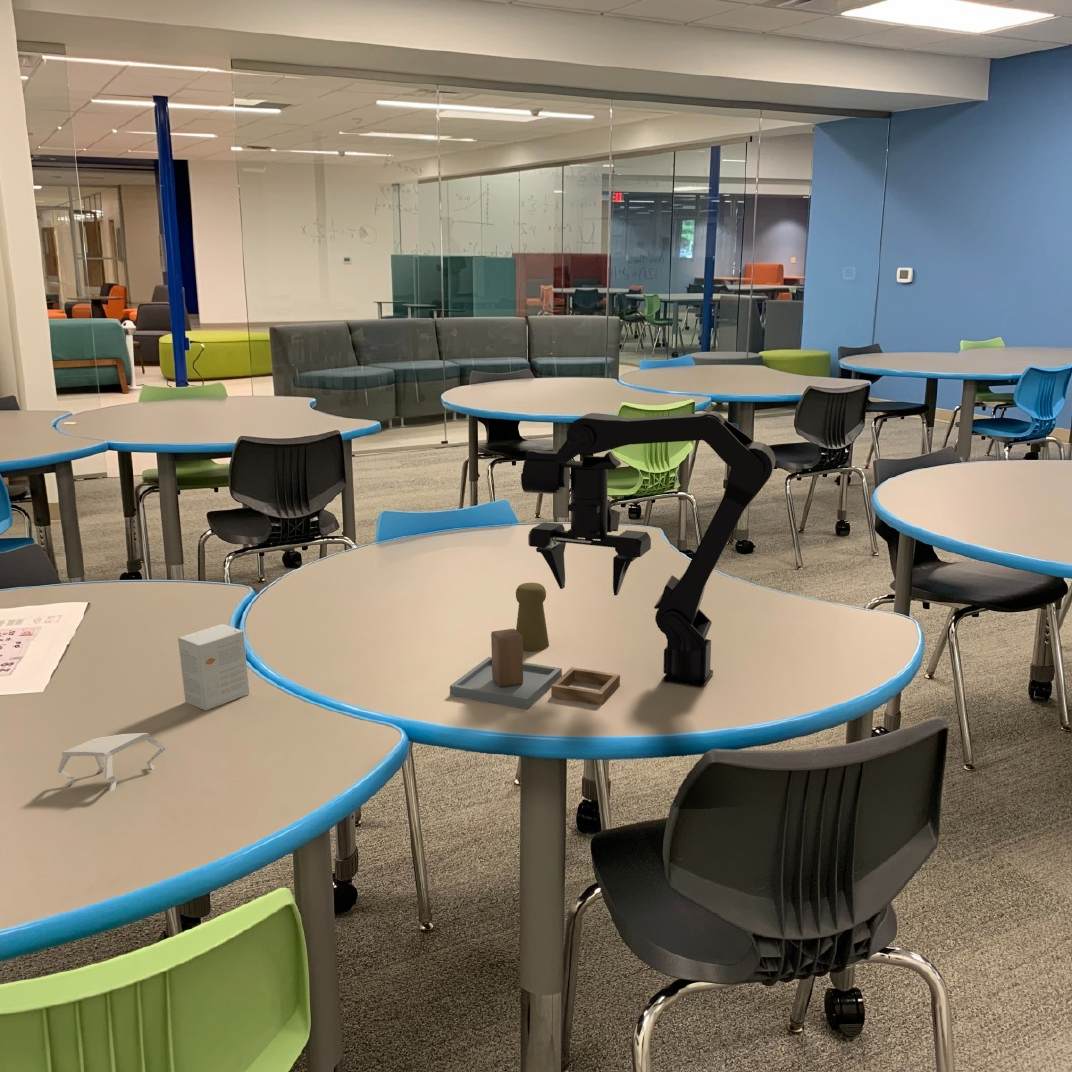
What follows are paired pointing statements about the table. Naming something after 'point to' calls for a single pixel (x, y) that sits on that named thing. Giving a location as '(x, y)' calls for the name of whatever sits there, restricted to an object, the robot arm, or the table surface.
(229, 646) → the small box
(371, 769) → the table surface
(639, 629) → the table surface
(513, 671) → the wooden block
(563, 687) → the walnut collar
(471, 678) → the slate tray
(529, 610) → the olive pawn piece
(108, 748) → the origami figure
